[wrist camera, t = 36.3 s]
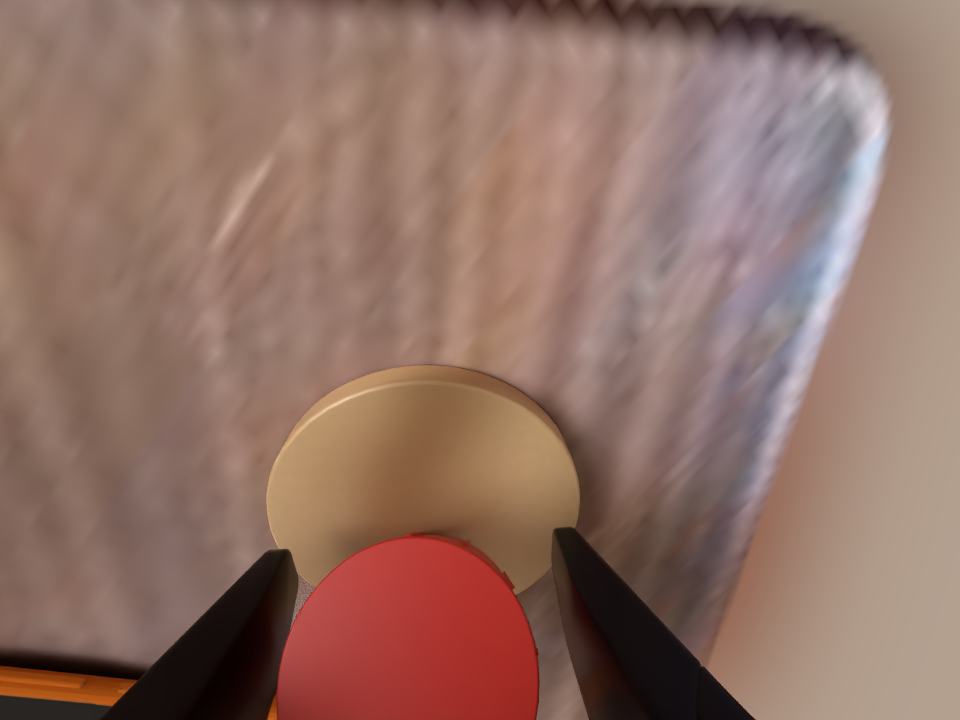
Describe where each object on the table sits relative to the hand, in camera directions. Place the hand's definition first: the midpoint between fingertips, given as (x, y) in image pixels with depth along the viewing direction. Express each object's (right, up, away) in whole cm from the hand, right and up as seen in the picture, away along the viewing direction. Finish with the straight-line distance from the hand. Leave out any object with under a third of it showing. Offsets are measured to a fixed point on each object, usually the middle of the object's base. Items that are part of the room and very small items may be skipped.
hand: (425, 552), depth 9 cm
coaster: (0, +1, +1) cm, 2 cm away
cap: (0, -2, 0) cm, 2 cm away
